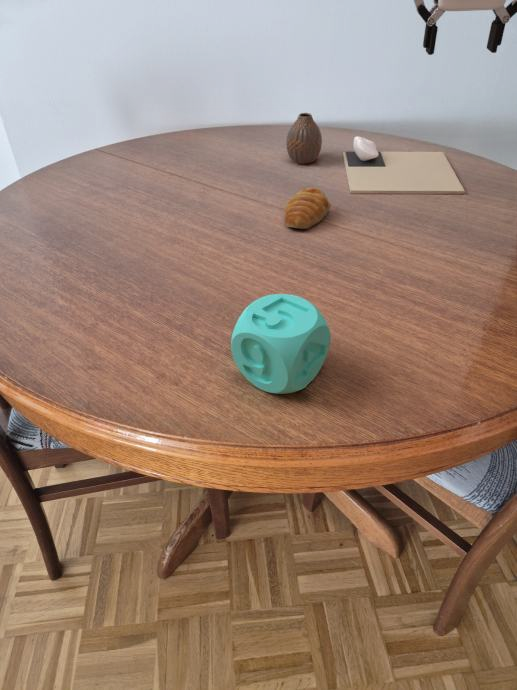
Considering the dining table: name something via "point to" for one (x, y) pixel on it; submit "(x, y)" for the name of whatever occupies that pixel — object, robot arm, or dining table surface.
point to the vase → (304, 140)
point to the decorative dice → (280, 343)
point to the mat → (401, 174)
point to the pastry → (306, 208)
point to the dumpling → (365, 148)
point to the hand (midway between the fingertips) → (460, 51)
